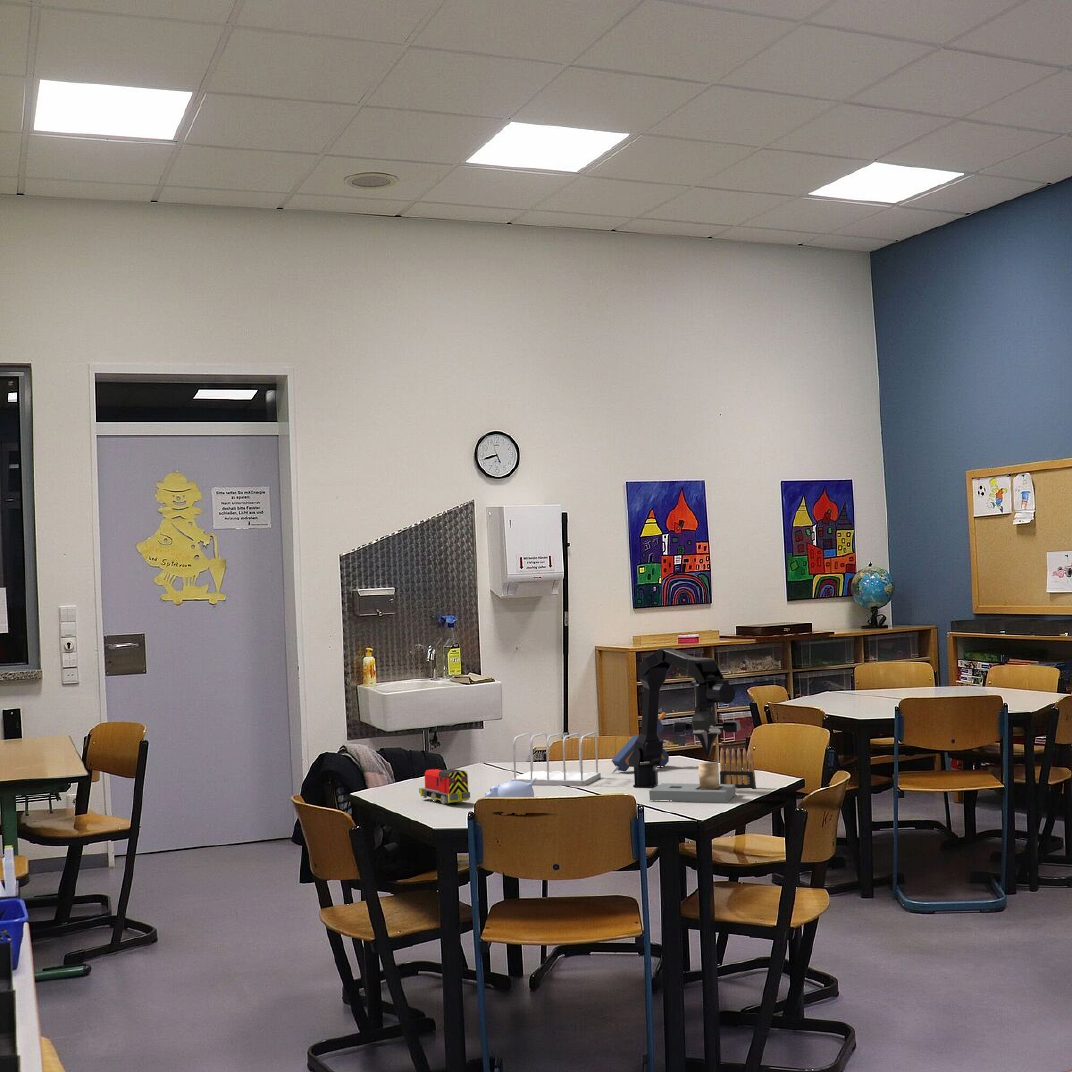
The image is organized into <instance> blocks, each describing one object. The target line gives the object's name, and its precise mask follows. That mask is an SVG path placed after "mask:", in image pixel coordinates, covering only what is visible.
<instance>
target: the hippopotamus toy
mask: <svg viewBox="0 0 1072 1072" xmlns="http://www.w3.org/2000/svg"><path fill="white" fill-rule="evenodd" d="M536 779H537V778H534V779H533V780H532V781H531V783H526V782H521V781H511V780H510V781H506V782H504V783H501V784H497V785H496V784H495V785H492V786H491V787H490V789H489V791H487V792H484V798H486V797H534V798H535V792H534V788H533V786H535V785H534V783H535V780H536Z"/></svg>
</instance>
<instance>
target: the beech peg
mask: <svg viewBox="0 0 1072 1072" xmlns="http://www.w3.org/2000/svg"><path fill="white" fill-rule="evenodd" d="M719 770H720V769H719V762H715V761H706V762H705V761H704V762H699V763H698V778H699V779H698V780H699V784H700V790H719V789H720V787H719V784H720V771H719Z"/></svg>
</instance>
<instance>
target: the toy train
mask: <svg viewBox="0 0 1072 1072" xmlns="http://www.w3.org/2000/svg"><path fill="white" fill-rule="evenodd" d="M468 776H469V775H468V772H467V771H466V770H461V769H455V768H454V769H453V768H452V769H438V768H437V769H436V768H434V767H433V769H426V770H425V772H424V787H419V788H418V791H419V792H418V793H419V794H420V797H422V798H424V799H427V798H430V799H431V801H432V800H434V801H436V802H437V800H438V801H440V802H441V804H442V805H445V804H450V803H457V802H458V803H459V802H464V801H470V799H471V792H470V791H469V778H468Z"/></svg>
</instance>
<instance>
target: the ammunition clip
mask: <svg viewBox="0 0 1072 1072" xmlns="http://www.w3.org/2000/svg"><path fill="white" fill-rule="evenodd" d="M730 753H731V754H730ZM747 754H748V755H747ZM719 757H720V758H719V759H720V760H719V768H720V769H719V770H720V771H719V784H735V789H741V788H755V789H756V788H757V784H756V783H757V782H756V774H755V763H754V756H753V751H752V749H751V748H749V749H748V753H747V750H746V748H743V750H742V753H741V749H740V747H738V748H737V752H736V751H735V749H734V747H733V748H732V749H731V752H730V750H729V747H727V748H726V751H724V749H723V747H721V748H720V756H719Z"/></svg>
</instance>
